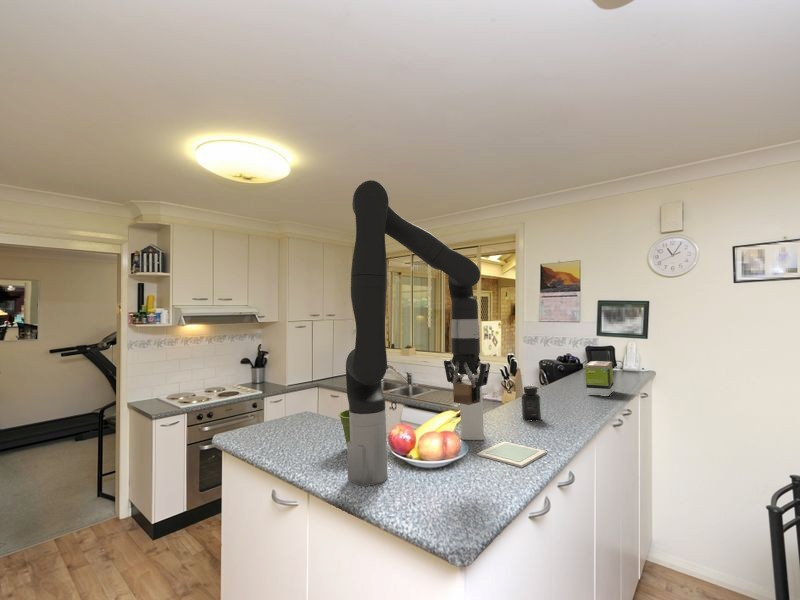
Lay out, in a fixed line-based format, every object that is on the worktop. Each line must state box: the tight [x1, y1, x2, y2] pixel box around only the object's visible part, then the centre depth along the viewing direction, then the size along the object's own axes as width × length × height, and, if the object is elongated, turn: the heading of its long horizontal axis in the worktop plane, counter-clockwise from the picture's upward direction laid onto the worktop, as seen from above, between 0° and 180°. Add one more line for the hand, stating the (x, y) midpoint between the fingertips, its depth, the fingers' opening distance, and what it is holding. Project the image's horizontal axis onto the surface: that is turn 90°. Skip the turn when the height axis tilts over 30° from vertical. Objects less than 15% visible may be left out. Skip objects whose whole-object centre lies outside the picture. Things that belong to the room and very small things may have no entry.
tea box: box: [584, 360, 615, 396], centre depth 191 cm, size 15×10×15 cm, turn 144°
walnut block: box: [452, 381, 480, 405], centre depth 106 cm, size 5×5×5 cm
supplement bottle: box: [520, 385, 542, 422], centre depth 151 cm, size 7×7×12 cm
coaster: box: [476, 440, 548, 468], centre depth 114 cm, size 14×14×1 cm
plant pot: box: [338, 409, 350, 445], centre depth 124 cm, size 12×12×11 cm
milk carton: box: [459, 378, 485, 441], centre depth 131 cm, size 7×7×19 cm
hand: (466, 400), depth 106 cm, fingers closed on walnut block, 5 cm apart
